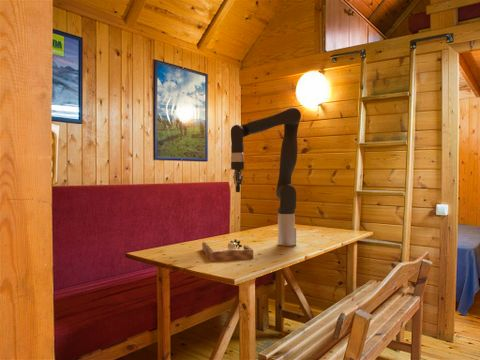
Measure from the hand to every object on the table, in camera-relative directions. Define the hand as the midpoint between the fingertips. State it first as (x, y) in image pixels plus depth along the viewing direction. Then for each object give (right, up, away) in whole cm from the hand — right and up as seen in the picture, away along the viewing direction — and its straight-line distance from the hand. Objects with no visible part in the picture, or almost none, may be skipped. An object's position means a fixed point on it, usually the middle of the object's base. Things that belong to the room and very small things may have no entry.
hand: (237, 192), depth 208 cm
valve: (-2, -30, -27) cm, 40 cm away
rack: (-5, -30, -25) cm, 39 cm away
